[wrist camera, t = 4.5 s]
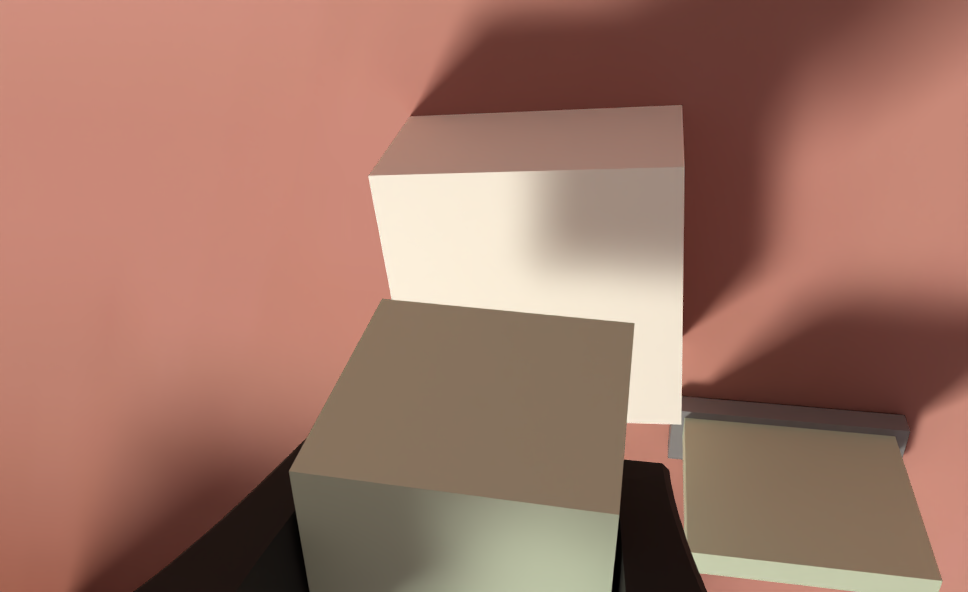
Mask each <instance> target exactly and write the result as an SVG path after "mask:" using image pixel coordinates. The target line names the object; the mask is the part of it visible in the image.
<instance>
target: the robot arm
mask: <svg viewBox="0 0 968 592" xmlns="http://www.w3.org/2000/svg"><path fill="white" fill-rule="evenodd" d="M306 439H307V438H306ZM306 439H305V440H306ZM305 440H304V441H303V442H302V443H301V444H300V445H299V446H298V447H297V448H296V449H295V450H294V451H293V452H292V453H291V454H290V455H289V456H288V457H287V458H286V459H285V460H284V461H283V462H282V463H281V464H280V465H279V466H278V467H276V468H275V469H274V470H273V471H272V472H271V473H270V474H269V475H268V476H267V477H266V478H265V479H264V480H263V481H262V482H261V483H260V484H259V485H258V486H257V487H256V488H255V489H254V490H253V491H252V492H251V493H250V494H248V495H247V496H246V497H245V498H244V499H243V500H242V501H241V502H240V503H239V504H238V505H237V506H236V507H234V508H233V509H232V510H231V511H230V512H229V513H228V514H227V515H226V516H225V517H224V518H223V519H221V520H220V521H219V522H218V523H217V524H216V525H215V526H214V527H213V528H211V529H210V530H209V531H208V532H207V533H206V534H204V535H203V536H202V537H201V538H200V539H199V540H197V541H196V542H195V543H194V544H193V545H191V546H190V547H189V548H188V549H187V550H186V551H184V552H183V553H182V554H181V555H180V556H178V557H177V558H176V559H175V560H174V561H173V562H171V563H170V564H169V565H168V566H166V567H165V568H164V569H163V570H161V571H160V572H159V573H157V574H156V575H155V576H154V577H152V578H151V579H150V580H149V581H147V582H146V583H145V584H143V585H142V586H141V587H139V588H138V589H137V590H135V591H134V592H310V591H309V586H308V580H307V574H306V568H305V562H304V556H303V551H302V545H301V539H300V533H299V527H298V522H297V516H296V510H295V504H294V498H293V493H292V487H291V481H290V475H289V470H290V468H291V466H292V464H293V463H294V461H295V459H296V457H297V455H298V453H299V451H300V450H301V448H302V446H303V444H304V442H305ZM611 592H707V591H706V588H705V586H704V583H703V581H702V578H701V576H700V573H699V571H698V568H697V566H696V563H695V561H694V558H693V556H692V553H691V550H690V547H689V545H688V542H687V539H686V536H685V533H684V530H683V527H682V523H681V520H680V517H679V514H678V510H677V507H676V503H675V499H674V495H673V490H672V485H671V480H670V472H669V470H668V469H667V468H666V467H665V466H664V465H663V464H662V463H652V462H642V461H632V460H624V462H623V475H622V487H621V500H620V512H619V523H618V532H617V542H616V552H615V561H614V571H613V581H612V590H611Z"/></svg>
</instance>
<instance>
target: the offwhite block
mask: <svg viewBox="0 0 968 592" xmlns="http://www.w3.org/2000/svg"><path fill="white" fill-rule="evenodd" d="M684 176H685V164H684V138H683V113H682V105H669V106H645V107H621V108H598V109H574V110H550V111H526V112H502V113H478V114H454V115H430V116H410V117H409V118H408V120H407V121H406V122H405V124H404V125H403V127H402V128H401V130H400V131H399V132H398V134H397V135H396V137H395V138H394V140H393V141H392V142H391V144H390V145H389V147H388V148H387V150H386V151H385V153H384V154H383V155H382V157H381V158H380V160H379V161H378V163H377V164H376V165H375V167H374V168H373V170H372V171H371V173H370V174H369V175H368V177H369V182H370V187H371V193H372V198H373V203H374V208H375V214H376V219H377V224H378V229H379V235H380V240H381V245H382V251H383V256H384V261H385V266H386V272H387V277H388V282H389V288H390V293H391V298H392V300H401V301H411V302H421V303H432V304H442V305H452V306H463V307H473V308H483V309H494V310H504V311H514V312H525V313H535V314H545V315H556V316H566V317H577V318H587V319H597V320H608V321H618V322H628V323H635V325H634V338H633V350H632V363H631V375H630V388H629V400H628V412H627V423H645V424H677V425H681V409H682V331H683V253H684Z"/></svg>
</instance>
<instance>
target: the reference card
mask: <svg viewBox="0 0 968 592" xmlns="http://www.w3.org/2000/svg"><path fill="white" fill-rule="evenodd" d="M909 434H910V429H909V426H908V423H907V420H906V418H905V415H896V414H884V413H873V412H861V411H849V410H837V409H826V408H814V407H802V406H790V405H778V404H767V403H755V402H743V401H731V400H720V399H708V398H696V397H684V396H682V409H681V425H677V424H670V428H669V438H668V458H673V459H683V492H684V533H685V536H686V539H687V542H688V545H689V547H690V550H691V553H692V556H693V558H694V561H695V563H696V566H697V568H698V571H699V573H702V574H711V575H719V576H728V577H736V578H745V579H753V580H762V581H770V582H779V583H787V584H796V585H804V586H813V587H821V588H830V589H838V590H847V591H855V592H939V589H940V587H941V584H942V578H941V575H940V572H939V569H938V566H937V563H936V560H935V557H934V553H933V550H932V547H931V544H930V541H929V538H928V535H927V532H926V529H925V526H924V523H923V520H922V517H921V514H920V511H919V508H918V504H917V501H916V498H915V495H914V492H913V489H912V486H911V483H910V480H909V477H908V474H907V471H906V468H905V465H904V462H903V459H902V457H903V454H904V451H905V447H906V444H907V441H908V437H909Z"/></svg>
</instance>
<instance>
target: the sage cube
mask: <svg viewBox="0 0 968 592" xmlns="http://www.w3.org/2000/svg"><path fill="white" fill-rule="evenodd" d="M634 325H635V323H628V322H618V321H608V320H597V319H587V318H577V317H566V316H556V315H545V314H535V313H525V312H514V311H504V310H494V309H483V308H473V307H463V306H452V305H442V304H432V303H421V302H411V301H401V300H390V299H382V300H381V302H380V304H379V305H378V307H377V309H376V311H375V313H374V315H373V317H372V318H371V320H370V322H369V324H368V326H367V328H366V330H365V331H364V333H363V335H362V337H361V339H360V341H359V342H358V344H357V346H356V348H355V350H354V352H353V354H352V355H351V357H350V359H349V361H348V363H347V365H346V366H345V368H344V370H343V372H342V374H341V376H340V378H339V379H338V381H337V383H336V385H335V387H334V389H333V390H332V392H331V394H330V396H329V398H328V400H327V402H326V403H325V405H324V407H323V409H322V411H321V413H320V415H319V416H318V418H317V420H316V422H315V424H314V426H313V427H312V429H311V431H310V433H309V435H308V437H307V439H306V440H305V442H304V444H303V446H302V448H301V450H300V451H299V453H298V455H297V457H296V459H295V461H294V463H293V464H292V466H291V468H290V470H289V475H290V481H291V487H292V493H293V498H294V504H295V510H296V516H297V522H298V527H299V533H300V539H301V545H302V551H303V556H304V562H305V568H306V574H307V580H308V586H309V591H310V592H611V590H612V581H613V571H614V561H615V552H616V542H617V532H618V523H619V512H620V500H621V487H622V475H623V462H624V450H625V437H626V425H627V412H628V400H629V388H630V375H631V363H632V350H633V338H634Z"/></svg>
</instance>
